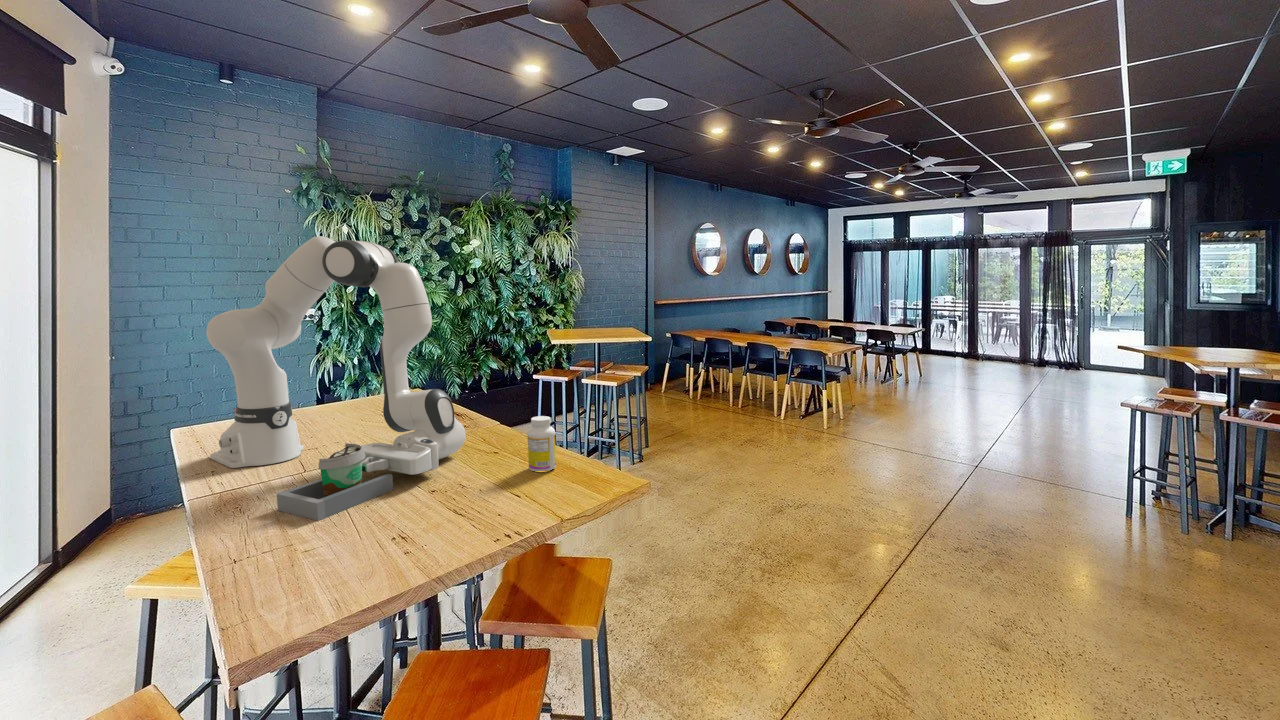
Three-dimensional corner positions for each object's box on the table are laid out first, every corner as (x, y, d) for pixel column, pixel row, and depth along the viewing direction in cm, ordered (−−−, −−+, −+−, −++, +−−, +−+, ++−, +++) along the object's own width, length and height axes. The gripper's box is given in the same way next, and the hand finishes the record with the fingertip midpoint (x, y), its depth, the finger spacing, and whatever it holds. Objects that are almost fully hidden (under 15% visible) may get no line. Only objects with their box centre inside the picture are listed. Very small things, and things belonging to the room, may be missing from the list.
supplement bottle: (542, 463, 146) (541, 413, 144) (561, 468, 142) (560, 417, 140) (522, 470, 140) (521, 418, 139) (542, 475, 136) (540, 422, 135)
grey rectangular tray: (277, 510, 116) (276, 493, 115) (354, 482, 132) (353, 467, 132) (318, 520, 111) (317, 503, 110) (393, 489, 127) (392, 474, 127)
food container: (352, 506, 118) (348, 459, 116) (321, 507, 118) (317, 459, 116) (377, 485, 130) (374, 442, 129) (349, 485, 130) (346, 442, 128)
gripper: (378, 433, 143) (328, 448, 130) (442, 443, 135) (395, 460, 122) (380, 458, 144) (330, 475, 131) (443, 469, 135) (396, 488, 123)
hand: (362, 468), depth 127 cm, fingers closed
